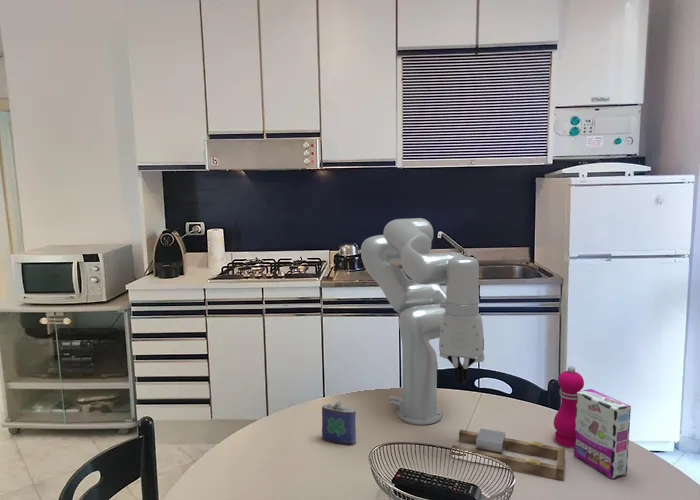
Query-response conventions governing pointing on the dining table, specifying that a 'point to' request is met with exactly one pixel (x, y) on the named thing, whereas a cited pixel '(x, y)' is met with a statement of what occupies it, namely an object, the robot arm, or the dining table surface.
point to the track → (525, 448)
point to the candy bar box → (602, 432)
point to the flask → (338, 424)
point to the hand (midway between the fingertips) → (461, 382)
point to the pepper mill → (567, 407)
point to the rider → (491, 441)
